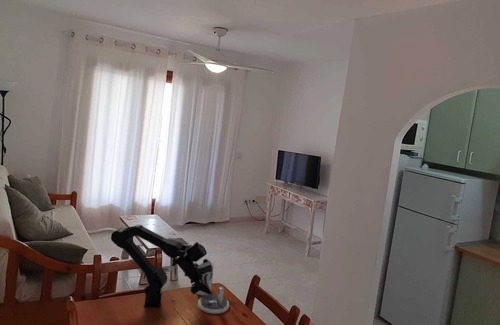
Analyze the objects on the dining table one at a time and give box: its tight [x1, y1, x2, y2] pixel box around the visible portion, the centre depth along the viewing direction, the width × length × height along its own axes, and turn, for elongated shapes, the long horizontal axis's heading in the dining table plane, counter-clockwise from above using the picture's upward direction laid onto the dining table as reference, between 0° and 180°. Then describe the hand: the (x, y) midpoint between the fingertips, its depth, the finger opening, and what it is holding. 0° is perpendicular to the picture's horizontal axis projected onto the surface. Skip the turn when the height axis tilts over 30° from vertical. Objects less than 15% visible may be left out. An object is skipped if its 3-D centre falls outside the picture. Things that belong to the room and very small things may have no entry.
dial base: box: [197, 297, 230, 315], centre depth 171 cm, size 14×14×2 cm
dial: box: [200, 286, 228, 309], centre depth 170 cm, size 12×12×9 cm
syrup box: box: [196, 262, 215, 297], centre depth 182 cm, size 6×6×14 cm
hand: (210, 293), depth 166 cm, fingers closed
